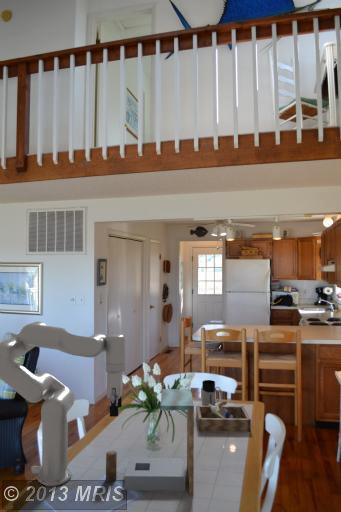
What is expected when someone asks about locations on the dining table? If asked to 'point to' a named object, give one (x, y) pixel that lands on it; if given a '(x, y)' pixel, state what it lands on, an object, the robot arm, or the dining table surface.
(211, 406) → the fish sculpture
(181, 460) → the socket block
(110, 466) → the peg
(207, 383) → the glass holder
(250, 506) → the dining table surface
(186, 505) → the dining table surface
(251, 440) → the dining table surface
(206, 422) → the display tray
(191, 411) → the glass-topped wooden stand
